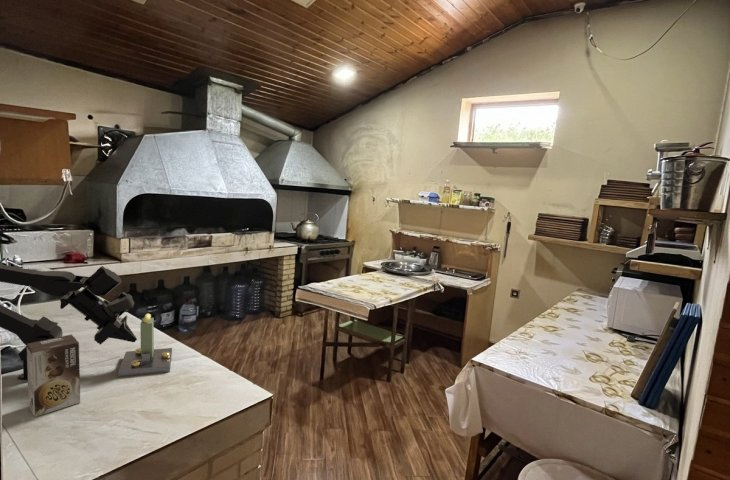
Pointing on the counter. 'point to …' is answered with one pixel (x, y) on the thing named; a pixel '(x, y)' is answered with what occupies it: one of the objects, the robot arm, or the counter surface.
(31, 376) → the coffee box
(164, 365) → the base
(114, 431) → the counter surface
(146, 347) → the green lever
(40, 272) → the robot arm
